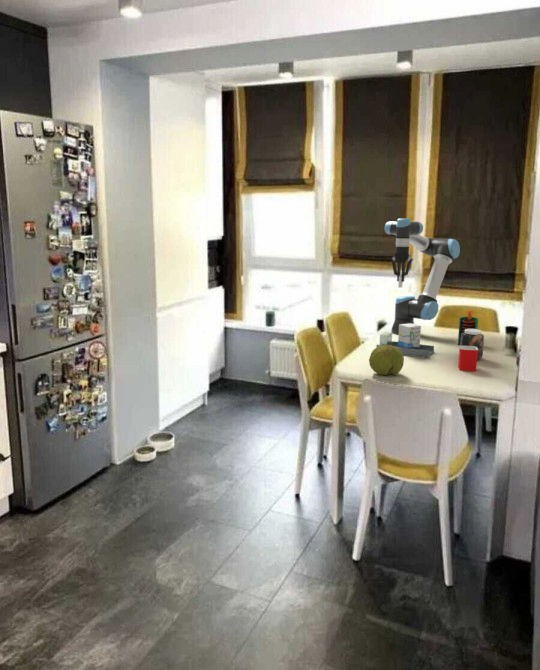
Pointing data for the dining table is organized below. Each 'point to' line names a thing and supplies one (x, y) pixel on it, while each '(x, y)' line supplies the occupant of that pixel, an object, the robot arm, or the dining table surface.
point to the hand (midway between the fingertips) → (400, 287)
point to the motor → (467, 324)
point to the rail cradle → (414, 351)
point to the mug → (467, 358)
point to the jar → (473, 341)
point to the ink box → (409, 335)
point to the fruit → (386, 360)
